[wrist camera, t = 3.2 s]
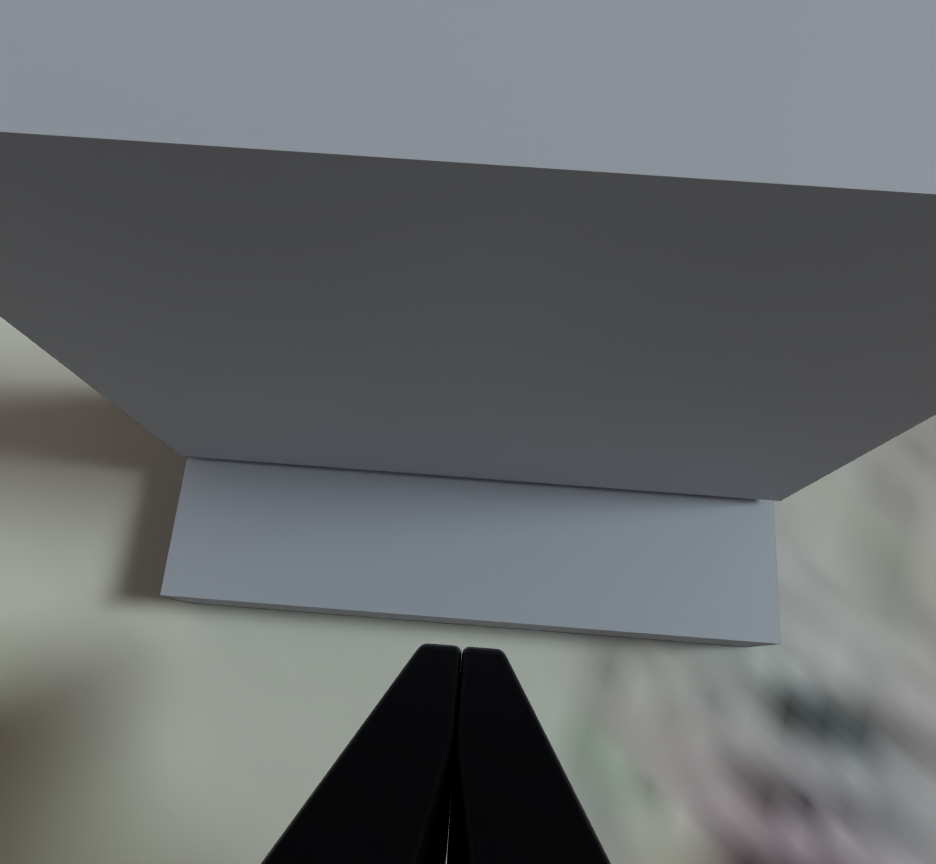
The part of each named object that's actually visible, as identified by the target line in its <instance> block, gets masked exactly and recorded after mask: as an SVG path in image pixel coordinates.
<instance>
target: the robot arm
mask: <svg viewBox="0 0 936 864" xmlns="http://www.w3.org/2000/svg"><path fill="white" fill-rule="evenodd" d="M461 655H462V660H461ZM460 670H461V672H460ZM450 805H451V806H450ZM449 817H450V821H449ZM448 830H449V836H448ZM447 843H448V850H447ZM446 855H447V864H611V863H610V861H609V859H608V857H607V855H606V853H605V851H604V849H603V847H602V845H601V843H600V841H599V839H598V837H597V835H596V833H595V831H594V829H593V827H592V825H591V823H590V821H589V819H588V817H587V815H586V813H585V811H584V809H583V807H582V805H581V803H580V802H579V800H578V798H577V796H576V794H575V792H574V790H573V788H572V786H571V784H570V782H569V780H568V778H567V776H566V774H565V772H564V770H563V768H562V766H561V764H560V762H559V760H558V758H557V756H556V754H555V752H554V750H553V748H552V746H551V744H550V742H549V740H548V738H547V736H546V734H545V732H544V730H543V728H542V726H541V724H540V722H539V720H538V718H537V716H536V714H535V712H534V710H533V708H532V706H531V704H530V702H529V700H528V698H527V696H526V694H525V692H524V690H523V688H522V686H521V684H520V682H519V680H518V678H517V677H516V675H515V673H514V671H513V669H512V667H511V665H510V663H509V661H508V659H507V657H506V655H505V654H504V652H502V651H501V650H499V649H490V648H478V647H467V648H465V649H464V650H463V652H462V654H461V650H460V648H459V647H457V646H452V645H439V644H424V645H421V646H420V647H419V648H418V649H417V651H416V652H415V653H414V655H413V656H412V657H411V659H410V660H409V662H408V663H407V664H406V666H405V667H404V668H403V670H402V671H401V673H400V674H399V675H398V677H397V678H396V679H395V681H394V682H393V683H392V685H391V686H390V688H389V689H388V690H387V692H386V693H385V694H384V696H383V697H382V699H381V700H380V701H379V703H378V704H377V705H376V707H375V708H374V710H373V711H372V712H371V714H370V715H369V716H368V718H367V719H366V720H365V722H364V723H363V725H362V726H361V727H360V729H359V730H358V731H357V733H356V734H355V736H354V737H353V738H352V740H351V741H350V742H349V744H348V745H347V746H346V748H345V749H344V751H343V752H342V753H341V755H340V756H339V757H338V759H337V760H336V762H335V763H334V764H333V766H332V767H331V768H330V770H329V771H328V772H327V774H326V775H325V777H324V778H323V779H322V781H321V782H320V783H319V785H318V786H317V788H316V789H315V790H314V792H313V793H312V794H311V796H310V797H309V799H308V800H307V801H306V803H305V804H304V805H303V807H302V808H301V809H300V811H299V812H298V814H297V815H296V816H295V818H294V819H293V820H292V822H291V823H290V825H289V826H288V827H287V829H286V830H285V831H284V833H283V834H282V835H281V837H280V838H279V840H278V841H277V842H276V844H275V845H274V846H273V848H272V849H271V851H270V852H269V853H268V855H267V856H266V857H265V859H264V860H263V861H262V863H261V864H446Z"/></svg>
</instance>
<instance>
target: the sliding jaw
mask: <svg viewBox="0 0 936 864" xmlns="http://www.w3.org/2000/svg"><path fill="white" fill-rule="evenodd" d="M0 316H1V317H2V318H3V319H5V320H6V321H7V322H8V323H10V324H11V325H12V326H14V327H15V328H16V329H17V330H19V331H20V332H21V333H23V334H24V335H25V336H27V337H28V338H29V339H30V340H32V341H33V342H34V343H36V344H37V345H38V346H39V347H41V348H42V349H43V350H45V351H46V352H47V353H48V354H50V355H51V356H52V357H54V358H55V359H56V360H58V361H59V362H60V363H61V364H63V365H64V366H65V367H67V368H68V369H69V370H70V371H72V372H73V373H74V374H76V375H77V376H78V377H80V378H81V379H82V380H83V381H85V382H86V383H87V384H89V385H90V386H91V387H92V388H94V389H95V390H96V391H98V392H99V393H100V394H101V395H103V396H104V397H105V398H107V399H108V400H109V401H111V402H112V403H113V404H114V405H116V406H117V407H118V408H120V409H121V410H122V411H123V412H125V413H126V414H127V415H129V416H130V417H131V418H133V419H134V420H135V421H136V422H138V423H139V424H140V425H142V426H143V427H144V428H145V429H147V430H148V431H149V432H151V433H152V434H153V435H154V436H156V437H157V438H158V439H160V440H161V441H162V442H164V443H165V444H166V445H167V446H169V447H170V448H171V449H173V450H174V451H175V452H176V453H178V454H179V455H180V456H189V457H203V458H216V459H229V460H243V461H256V462H269V463H283V464H296V465H309V466H323V467H336V468H349V469H363V470H376V471H389V472H403V473H416V474H429V475H443V476H456V477H469V478H483V479H496V480H509V481H523V482H536V483H549V484H562V485H576V486H589V487H602V488H616V489H629V490H642V491H656V492H669V493H682V494H696V495H709V496H722V497H736V498H749V499H762V500H776V501H781V500H783V499H785V498H786V497H788V496H790V495H792V494H794V493H795V492H797V491H799V490H801V489H803V488H804V487H806V486H808V485H810V484H812V483H813V482H815V481H817V480H819V479H821V478H822V477H824V476H826V475H828V474H830V473H831V472H833V471H835V470H837V469H838V468H840V467H842V466H844V465H846V464H847V463H849V462H851V461H853V460H855V459H856V458H858V457H860V456H862V455H864V454H865V453H867V452H869V451H871V450H873V449H874V448H876V447H878V446H880V445H882V444H883V443H885V442H887V441H889V440H891V439H892V438H894V437H896V436H898V435H900V434H901V433H903V432H905V431H907V430H909V429H910V428H912V427H914V426H916V425H918V424H919V423H921V422H923V421H925V420H927V419H928V418H930V417H932V416H934V415H936V0H0Z"/></svg>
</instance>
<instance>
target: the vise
mask: <svg viewBox="0 0 936 864" xmlns="http://www.w3.org/2000/svg"><path fill="white" fill-rule="evenodd" d="M160 595H162V596H166V597H170V598H173V599H177V600H181V601H185V602H188V603H199V604H212V605H225V606H237V607H250V608H263V609H275V610H288V611H301V612H313V613H326V614H339V615H351V616H364V617H377V618H389V619H402V620H415V621H428V622H440V623H453V624H466V625H478V626H491V627H504V628H516V629H529V630H542V631H554V632H567V633H580V634H592V635H605V636H618V637H630V638H643V639H656V640H668V641H681V642H694V643H706V644H719V645H732V646H744V647H754V646H764V645H774V644H780V625H779V603H778V581H777V560H776V538H775V516H774V500H762V499H749V498H736V497H722V496H709V495H696V494H682V493H669V492H656V491H642V490H629V489H616V488H602V487H589V486H576V485H562V484H549V483H536V482H523V481H509V480H496V479H483V478H469V477H456V476H443V475H429V474H416V473H403V472H389V471H376V470H363V469H349V468H336V467H323V466H309V465H296V464H283V463H269V462H256V461H243V460H229V459H216V458H203V457H189V456H187V460H186V465H185V470H184V475H183V480H182V485H181V491H180V496H179V501H178V506H177V511H176V516H175V521H174V526H173V531H172V537H171V542H170V547H169V552H168V557H167V562H166V567H165V572H164V577H163V583H162V588H161V593H160Z"/></svg>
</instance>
